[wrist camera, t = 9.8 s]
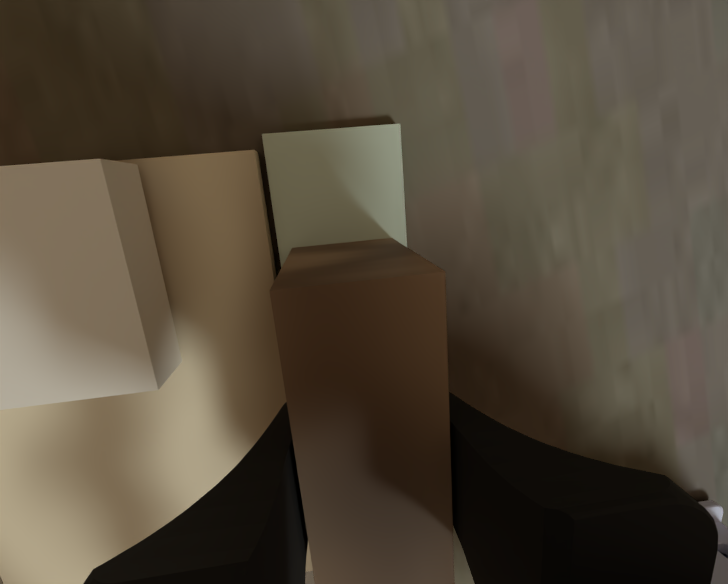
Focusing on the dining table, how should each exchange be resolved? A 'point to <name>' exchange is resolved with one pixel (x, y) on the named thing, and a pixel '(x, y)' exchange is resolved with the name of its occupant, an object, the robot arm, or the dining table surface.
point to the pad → (336, 185)
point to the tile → (80, 285)
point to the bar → (369, 409)
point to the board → (160, 407)
